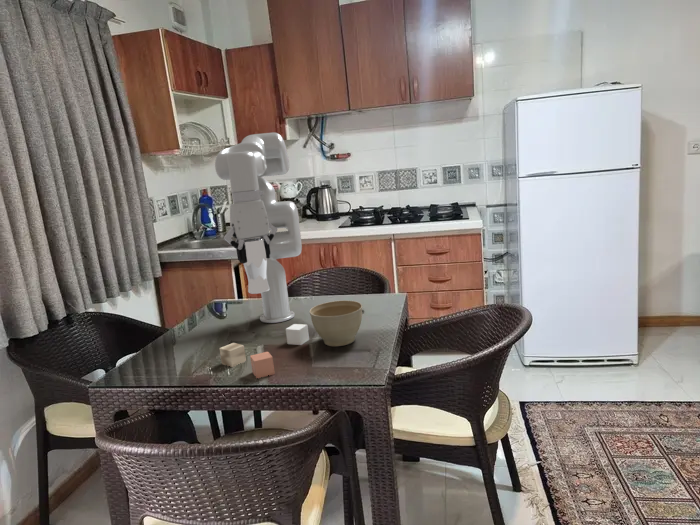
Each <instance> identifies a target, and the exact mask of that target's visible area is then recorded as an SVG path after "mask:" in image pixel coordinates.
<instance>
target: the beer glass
mask: <svg viewBox="0 0 700 525" xmlns="http://www.w3.org/2000/svg"><path fill="white" fill-rule="evenodd" d="M242 248H243V249H244V251H245V258H246V263H242V264H243V267H244V270H245V274H246V276H247V281H248V284H247V285H248V287H247V288H248V290H247V291H248V293H249V294H251V295H257V294H261V293H264V292H267V291H269V290H270V289H269V285H268V282H267V276H266V271H267V254H266V247H265V243H264V238H249V239H245V240H244V243H243V246H242Z"/></svg>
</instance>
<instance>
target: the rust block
mask: <svg viewBox="0 0 700 525" xmlns="http://www.w3.org/2000/svg"><path fill="white" fill-rule="evenodd" d="M249 356H250V364H251V371H252V372H251V373H252V374H253V375H254V377H255V376H256V377H255V379H257V378H258V379H261V377H262V378H266V377H268V375H269V376H272V375H275V374H276V371H275V365H274V358H273V356H272V355H271V353H270V352H269V351H264V352H260V353H256V354H252V355H249Z"/></svg>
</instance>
